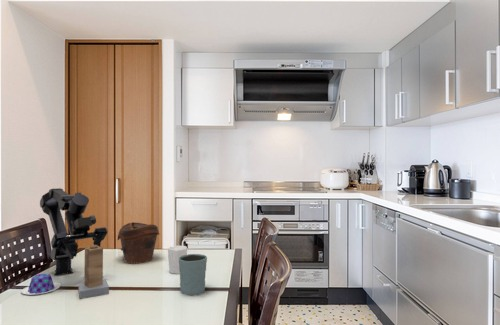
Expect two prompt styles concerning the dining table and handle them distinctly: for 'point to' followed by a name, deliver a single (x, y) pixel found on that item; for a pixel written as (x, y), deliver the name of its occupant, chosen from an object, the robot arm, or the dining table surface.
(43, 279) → the purple patterned hat
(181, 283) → the green cup
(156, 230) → the brown basket
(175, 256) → the white cup
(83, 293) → the base brick
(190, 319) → the dining table surface
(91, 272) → the column
